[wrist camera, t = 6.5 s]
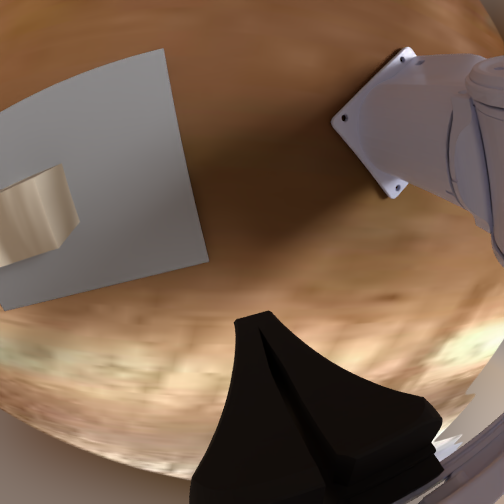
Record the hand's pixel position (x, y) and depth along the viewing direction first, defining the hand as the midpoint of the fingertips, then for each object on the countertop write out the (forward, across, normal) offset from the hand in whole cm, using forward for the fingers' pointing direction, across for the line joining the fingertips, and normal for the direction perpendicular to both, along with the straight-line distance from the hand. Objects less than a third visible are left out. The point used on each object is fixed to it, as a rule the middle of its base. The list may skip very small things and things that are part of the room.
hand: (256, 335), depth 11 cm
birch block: (+8, +9, -5) cm, 13 cm away
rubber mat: (+11, +10, -5) cm, 16 cm away
